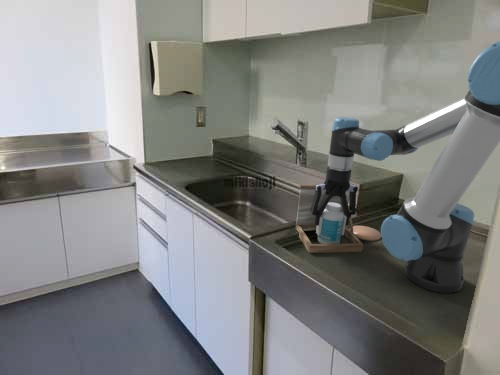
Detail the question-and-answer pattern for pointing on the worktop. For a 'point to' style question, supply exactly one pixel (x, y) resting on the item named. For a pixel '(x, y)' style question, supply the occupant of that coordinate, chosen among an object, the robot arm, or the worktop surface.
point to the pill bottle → (331, 224)
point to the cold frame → (307, 221)
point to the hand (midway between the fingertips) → (329, 233)
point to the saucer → (366, 233)
